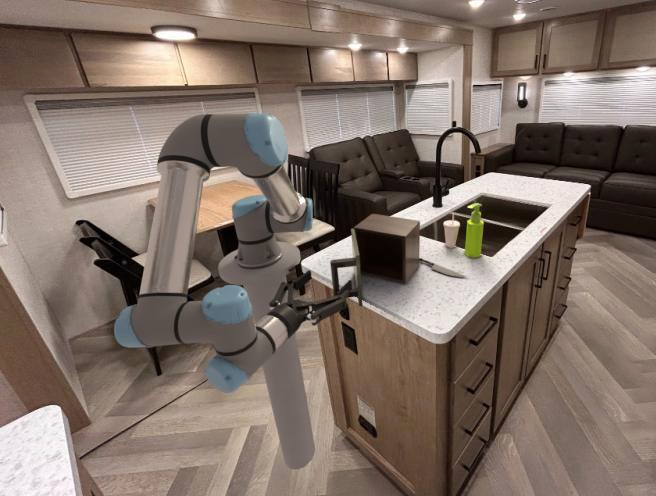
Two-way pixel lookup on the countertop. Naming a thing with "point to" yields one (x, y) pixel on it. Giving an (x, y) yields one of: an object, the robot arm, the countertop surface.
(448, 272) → the chef's knife
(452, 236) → the smoothie
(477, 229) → the soap dispenser
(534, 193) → the countertop surface
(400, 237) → the cupboard
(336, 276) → the cupboard door
